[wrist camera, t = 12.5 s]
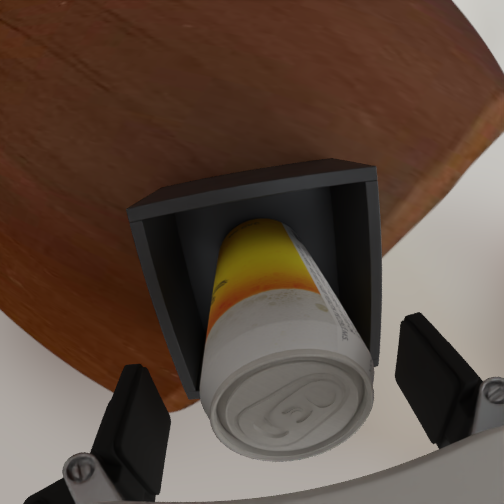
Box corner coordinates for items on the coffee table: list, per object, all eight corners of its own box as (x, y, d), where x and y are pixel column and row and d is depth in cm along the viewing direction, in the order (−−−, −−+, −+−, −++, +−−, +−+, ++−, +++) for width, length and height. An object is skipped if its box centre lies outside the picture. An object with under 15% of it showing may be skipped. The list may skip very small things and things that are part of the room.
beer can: (201, 258, 23) (158, 419, 9) (261, 197, 22) (307, 299, 8) (260, 309, 25) (285, 481, 10) (319, 255, 23) (414, 399, 9)
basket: (161, 187, 22) (125, 209, 15) (332, 158, 22) (376, 166, 14) (199, 335, 26) (188, 399, 19) (345, 309, 26) (378, 366, 19)
